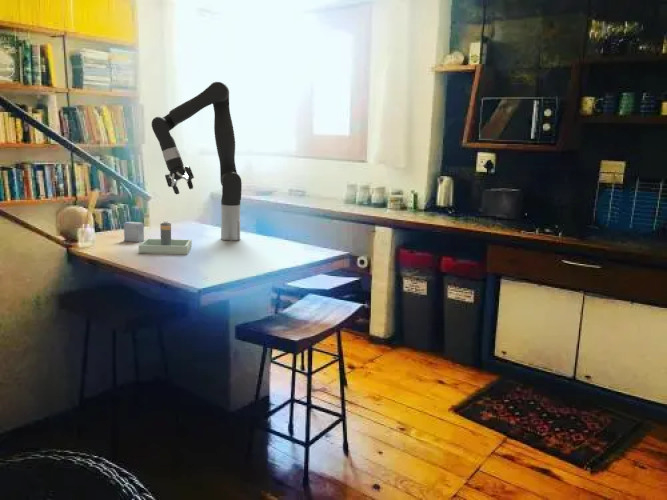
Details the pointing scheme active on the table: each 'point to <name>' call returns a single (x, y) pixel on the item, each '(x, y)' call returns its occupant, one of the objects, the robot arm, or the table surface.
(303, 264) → the table surface
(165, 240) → the battery cell
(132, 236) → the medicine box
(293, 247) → the table surface
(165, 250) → the trough
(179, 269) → the table surface
